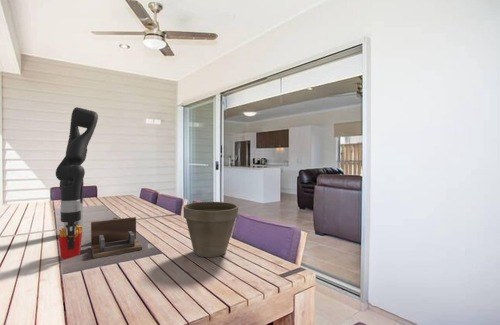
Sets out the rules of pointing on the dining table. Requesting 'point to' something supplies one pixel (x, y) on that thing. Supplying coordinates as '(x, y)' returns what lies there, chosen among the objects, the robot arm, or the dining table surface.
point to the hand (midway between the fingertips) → (71, 246)
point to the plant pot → (210, 226)
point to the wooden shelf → (114, 237)
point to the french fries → (64, 243)
